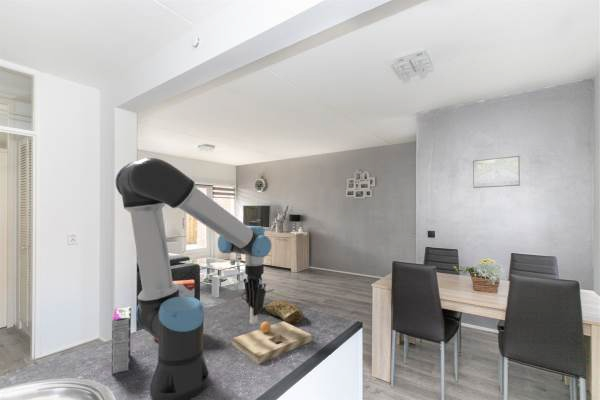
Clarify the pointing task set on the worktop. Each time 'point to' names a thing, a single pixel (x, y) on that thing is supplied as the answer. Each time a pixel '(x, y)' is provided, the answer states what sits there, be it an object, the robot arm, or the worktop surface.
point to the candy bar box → (121, 340)
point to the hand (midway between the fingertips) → (253, 322)
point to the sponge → (285, 310)
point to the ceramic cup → (262, 300)
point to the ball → (265, 327)
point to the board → (271, 341)
